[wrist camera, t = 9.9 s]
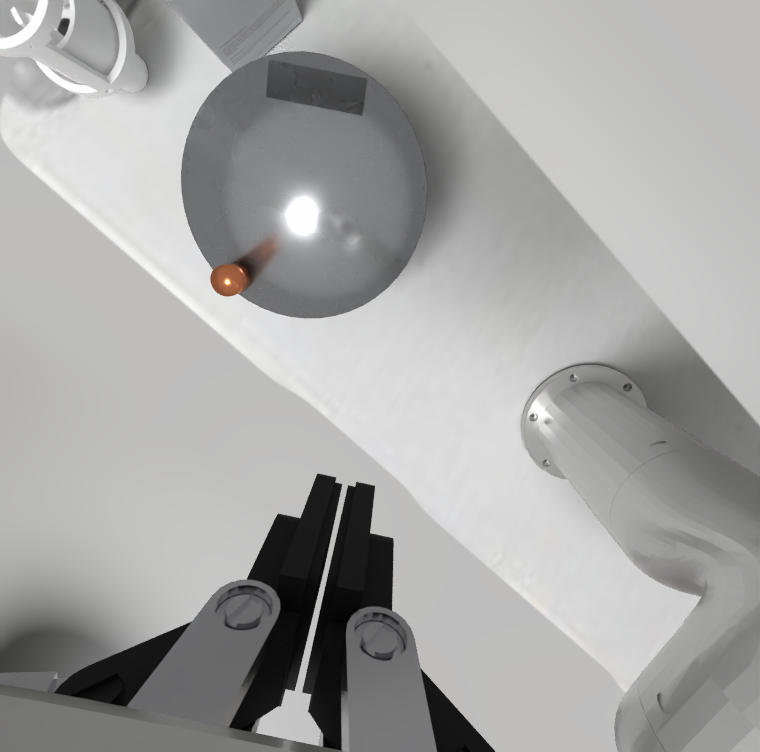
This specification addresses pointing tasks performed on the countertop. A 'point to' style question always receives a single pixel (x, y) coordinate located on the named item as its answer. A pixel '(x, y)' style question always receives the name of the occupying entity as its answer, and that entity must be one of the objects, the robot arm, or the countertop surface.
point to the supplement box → (239, 26)
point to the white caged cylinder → (75, 44)
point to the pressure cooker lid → (303, 185)
